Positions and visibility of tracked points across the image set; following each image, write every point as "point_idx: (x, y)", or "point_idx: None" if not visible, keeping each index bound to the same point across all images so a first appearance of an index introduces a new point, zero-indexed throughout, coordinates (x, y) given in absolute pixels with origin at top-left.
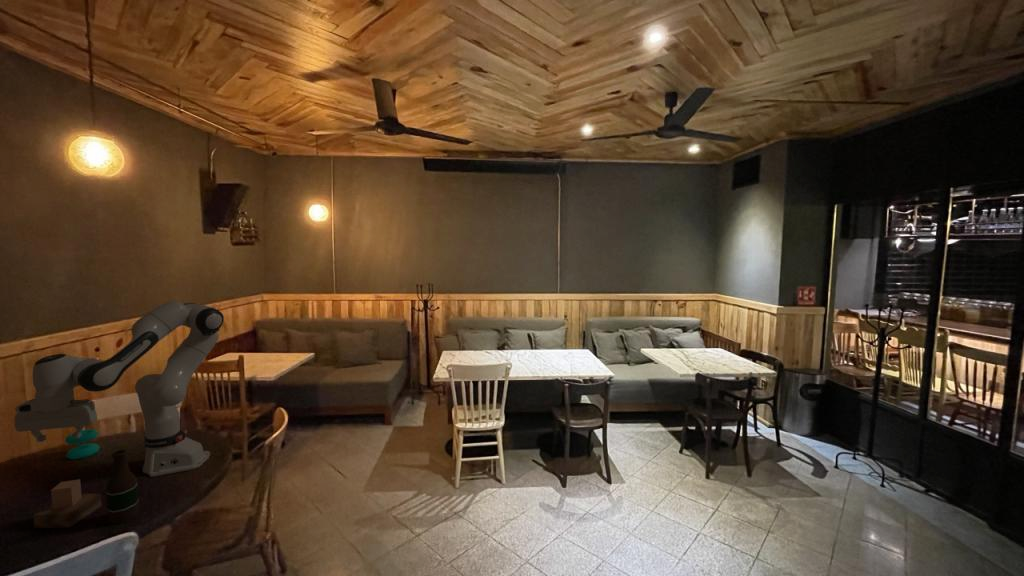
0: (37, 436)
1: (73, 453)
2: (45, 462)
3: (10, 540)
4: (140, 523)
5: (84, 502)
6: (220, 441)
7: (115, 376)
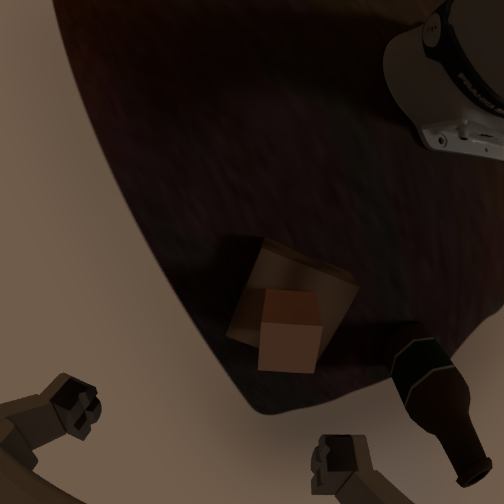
0: (56, 435)
1: None
2: None
3: (210, 345)
4: None
5: (331, 322)
6: None
7: None
